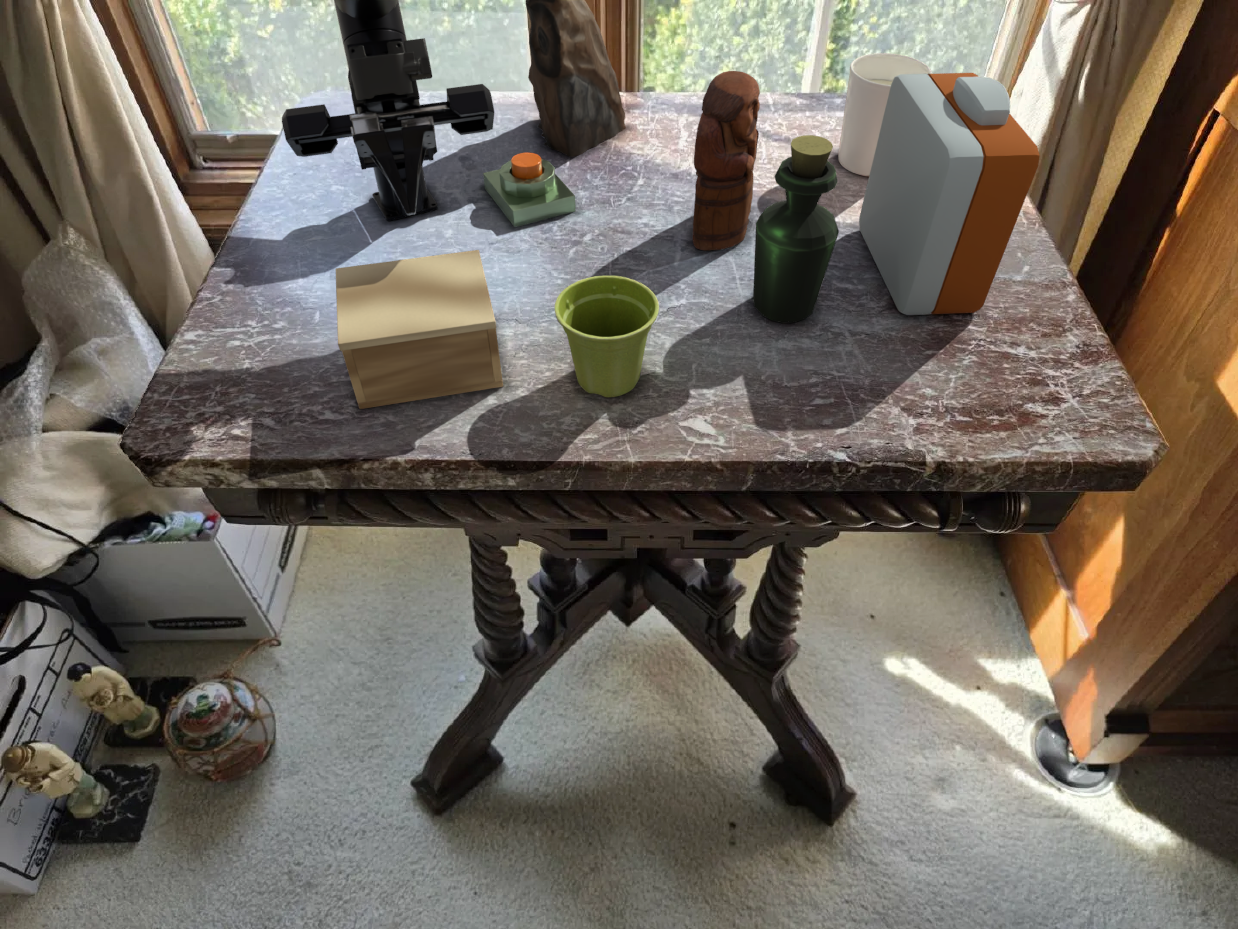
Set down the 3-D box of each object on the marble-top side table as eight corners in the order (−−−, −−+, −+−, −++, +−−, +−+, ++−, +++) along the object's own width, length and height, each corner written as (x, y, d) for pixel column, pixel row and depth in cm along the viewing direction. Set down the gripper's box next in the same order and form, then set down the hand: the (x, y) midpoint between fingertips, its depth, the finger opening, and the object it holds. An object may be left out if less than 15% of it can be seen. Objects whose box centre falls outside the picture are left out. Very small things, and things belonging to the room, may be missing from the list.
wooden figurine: (738, 259, 97) (757, 102, 83) (683, 250, 98) (694, 94, 85) (756, 206, 104) (776, 55, 91) (705, 199, 105) (718, 48, 92)
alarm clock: (981, 318, 89) (1056, 129, 74) (899, 321, 89) (958, 132, 74) (926, 223, 102) (981, 45, 87) (854, 225, 101) (897, 47, 86)
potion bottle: (805, 278, 94) (836, 120, 81) (833, 323, 89) (871, 161, 75) (735, 288, 93) (755, 128, 80) (759, 333, 87) (784, 171, 74)
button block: (484, 189, 107) (481, 159, 104) (543, 174, 109) (541, 145, 106) (514, 227, 101) (511, 197, 98) (575, 211, 103) (574, 181, 100)
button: (507, 169, 103) (506, 156, 102) (535, 163, 104) (534, 149, 103) (519, 183, 101) (517, 169, 100) (546, 176, 102) (546, 162, 101)
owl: (570, 163, 111) (564, -1, 97) (501, 135, 117) (485, -25, 102) (630, 128, 118) (632, -30, 103) (562, 103, 123) (554, -52, 109)
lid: (496, 328, 75) (495, 321, 75) (339, 351, 73) (337, 343, 73) (479, 256, 83) (478, 249, 82) (337, 275, 81) (335, 268, 80)
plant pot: (585, 423, 78) (582, 350, 72) (543, 364, 84) (538, 291, 78) (673, 391, 81) (678, 319, 75) (627, 336, 87) (628, 264, 81)
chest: (503, 386, 82) (495, 322, 76) (359, 409, 80) (339, 344, 74) (488, 320, 89) (479, 256, 83) (355, 339, 87) (337, 275, 81)
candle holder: (917, 156, 113) (943, 63, 104) (891, 187, 107) (916, 93, 99) (848, 137, 117) (867, 46, 108) (820, 167, 111) (837, 73, 102)
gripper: (248, 16, 69) (292, 210, 70) (477, -10, 72) (513, 178, 73) (278, 68, 80) (315, 235, 81) (475, 44, 83) (507, 206, 84)
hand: (411, 213), depth 80 cm, fingers closed
